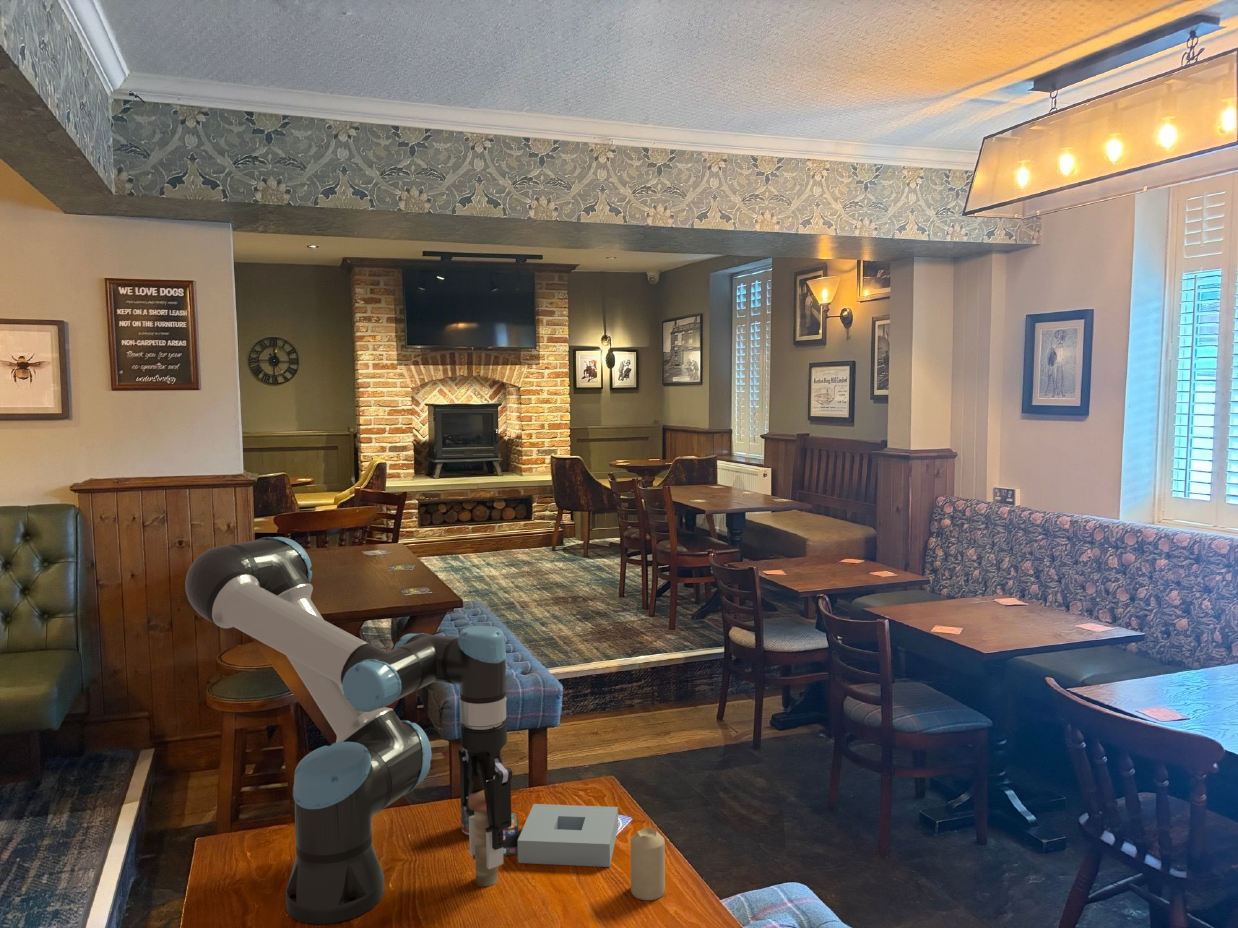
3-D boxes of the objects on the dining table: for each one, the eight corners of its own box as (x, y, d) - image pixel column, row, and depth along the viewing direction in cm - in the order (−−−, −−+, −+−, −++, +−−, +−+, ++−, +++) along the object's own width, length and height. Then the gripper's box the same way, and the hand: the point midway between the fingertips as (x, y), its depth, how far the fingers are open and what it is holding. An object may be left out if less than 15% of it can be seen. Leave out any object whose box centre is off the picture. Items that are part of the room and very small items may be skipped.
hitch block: (518, 862, 149) (517, 840, 149) (533, 824, 163) (533, 803, 163) (609, 866, 148) (609, 843, 147) (618, 827, 161) (617, 806, 161)
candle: (662, 902, 137) (661, 841, 136) (628, 898, 138) (627, 838, 137) (667, 883, 142) (666, 824, 141) (634, 880, 143) (633, 822, 143)
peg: (466, 888, 141) (464, 802, 140) (475, 871, 146) (473, 787, 146) (498, 890, 141) (497, 803, 140) (506, 872, 146) (504, 789, 145)
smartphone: (474, 861, 151) (474, 854, 151) (475, 821, 165) (475, 814, 165) (520, 857, 152) (520, 850, 152) (517, 817, 167) (517, 811, 167)
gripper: (533, 731, 137) (535, 872, 139) (476, 702, 151) (478, 831, 153) (492, 743, 133) (494, 889, 134) (437, 712, 147) (440, 845, 148)
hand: (486, 858), depth 143 cm, fingers open, 5 cm apart
